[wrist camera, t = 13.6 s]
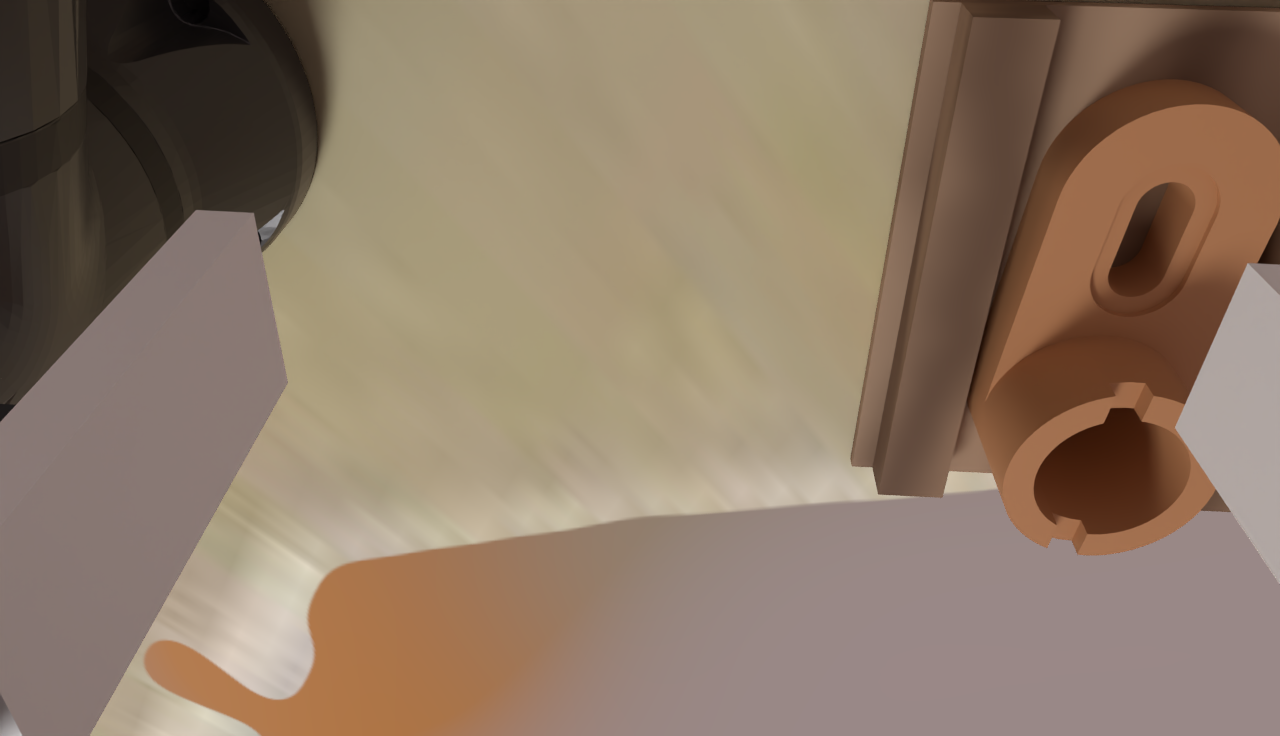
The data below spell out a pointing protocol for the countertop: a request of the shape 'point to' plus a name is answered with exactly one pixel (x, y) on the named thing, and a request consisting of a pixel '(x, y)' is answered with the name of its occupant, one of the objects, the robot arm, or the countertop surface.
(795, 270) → the countertop surface
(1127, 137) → the bracket
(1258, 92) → the cradle
